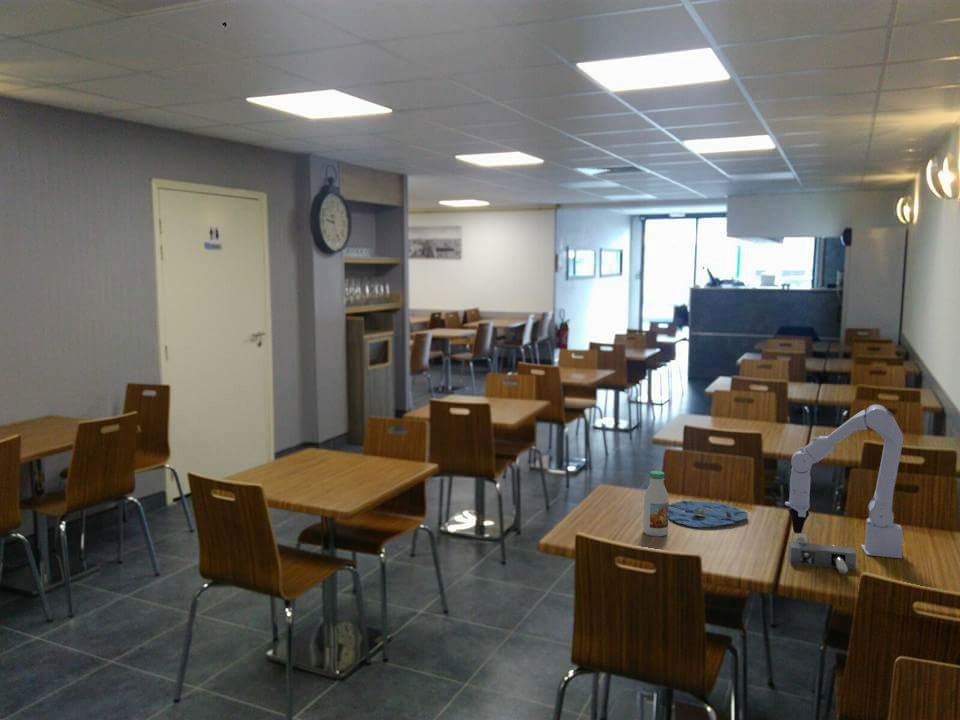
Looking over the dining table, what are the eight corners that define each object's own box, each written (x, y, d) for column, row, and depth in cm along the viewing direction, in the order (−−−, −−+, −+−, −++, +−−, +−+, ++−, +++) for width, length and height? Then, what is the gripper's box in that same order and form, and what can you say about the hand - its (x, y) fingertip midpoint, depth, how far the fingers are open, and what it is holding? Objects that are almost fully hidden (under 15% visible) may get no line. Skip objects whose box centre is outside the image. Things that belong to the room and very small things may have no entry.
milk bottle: (640, 534, 237) (641, 473, 235) (646, 527, 244) (648, 468, 242) (664, 538, 234) (666, 476, 231) (670, 531, 240) (672, 470, 238)
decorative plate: (647, 526, 250) (647, 511, 250) (671, 501, 276) (671, 487, 276) (739, 537, 236) (739, 521, 235) (755, 510, 262) (755, 496, 261)
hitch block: (851, 563, 214) (852, 547, 213) (855, 569, 209) (856, 553, 209) (788, 557, 219) (788, 541, 218) (790, 563, 214) (791, 547, 213)
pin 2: (825, 558, 217) (826, 544, 216) (841, 560, 216) (842, 545, 215) (834, 576, 204) (834, 560, 204) (851, 578, 203) (852, 562, 203)
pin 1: (792, 545, 227) (792, 531, 227) (807, 547, 226) (808, 533, 225) (798, 561, 215) (799, 547, 214) (814, 563, 213) (815, 548, 213)
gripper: (783, 482, 238) (780, 523, 240) (789, 495, 224) (786, 538, 226) (806, 484, 236) (804, 525, 238) (814, 497, 223) (811, 541, 224)
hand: (797, 532), depth 232 cm, fingers closed
